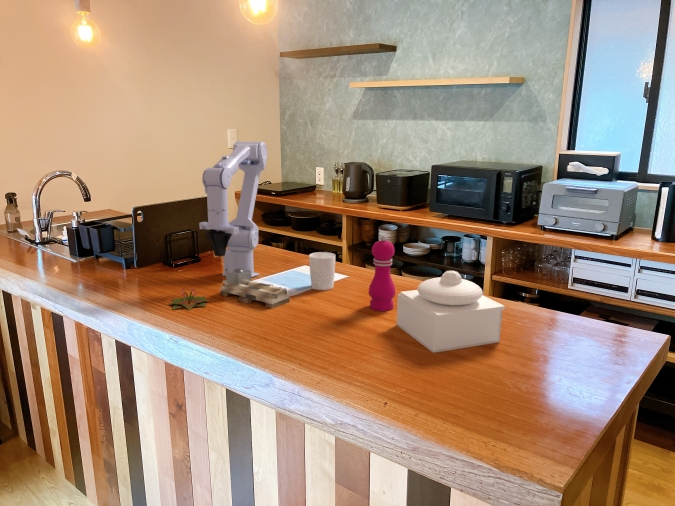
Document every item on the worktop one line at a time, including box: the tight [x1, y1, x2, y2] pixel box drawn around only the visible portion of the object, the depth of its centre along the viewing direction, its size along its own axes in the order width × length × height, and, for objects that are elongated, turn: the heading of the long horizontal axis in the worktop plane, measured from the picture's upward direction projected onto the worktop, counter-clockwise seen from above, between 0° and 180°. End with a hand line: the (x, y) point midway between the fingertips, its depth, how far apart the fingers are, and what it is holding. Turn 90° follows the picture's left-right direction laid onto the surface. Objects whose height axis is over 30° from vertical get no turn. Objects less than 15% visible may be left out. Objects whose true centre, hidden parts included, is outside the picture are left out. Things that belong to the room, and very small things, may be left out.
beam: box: [220, 279, 290, 309], centre depth 151 cm, size 20×9×4 cm, turn 54°
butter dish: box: [396, 270, 506, 353], centre depth 125 cm, size 18×18×16 cm
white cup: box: [308, 251, 336, 291], centre depth 161 cm, size 8×8×10 cm
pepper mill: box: [368, 234, 396, 312], centre depth 142 cm, size 7×7×20 cm
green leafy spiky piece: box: [167, 288, 210, 311], centre depth 146 cm, size 12×12×5 cm
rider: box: [225, 268, 252, 285], centre depth 154 cm, size 5×5×5 cm
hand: (219, 255), depth 157 cm, fingers closed
